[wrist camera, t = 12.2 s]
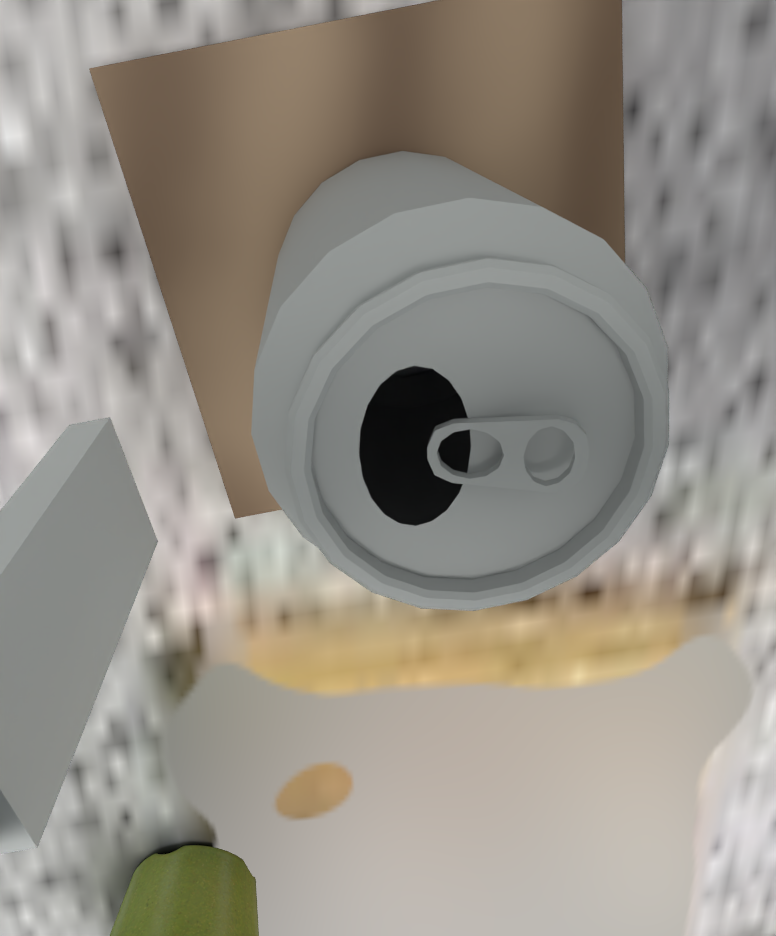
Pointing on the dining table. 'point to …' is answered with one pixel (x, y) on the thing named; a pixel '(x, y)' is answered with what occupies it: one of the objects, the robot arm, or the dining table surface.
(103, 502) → the robot arm
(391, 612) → the dining table surface
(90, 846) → the dining table surface
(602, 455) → the can
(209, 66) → the pad
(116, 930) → the plant pot
